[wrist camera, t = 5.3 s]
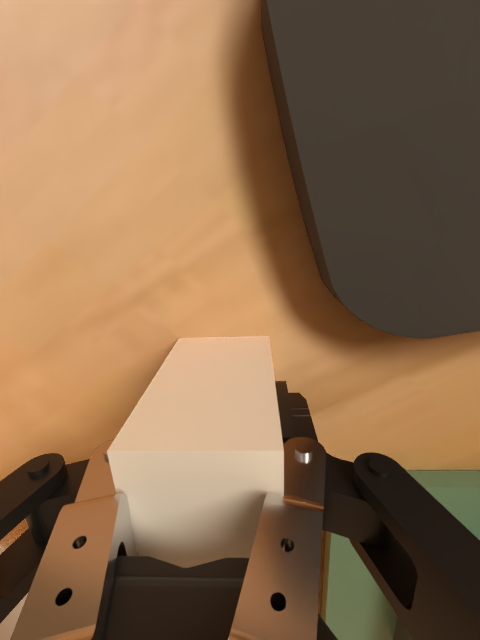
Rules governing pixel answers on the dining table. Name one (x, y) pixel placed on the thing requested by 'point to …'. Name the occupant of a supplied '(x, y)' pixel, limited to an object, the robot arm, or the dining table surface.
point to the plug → (202, 451)
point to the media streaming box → (385, 152)
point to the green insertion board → (358, 584)
